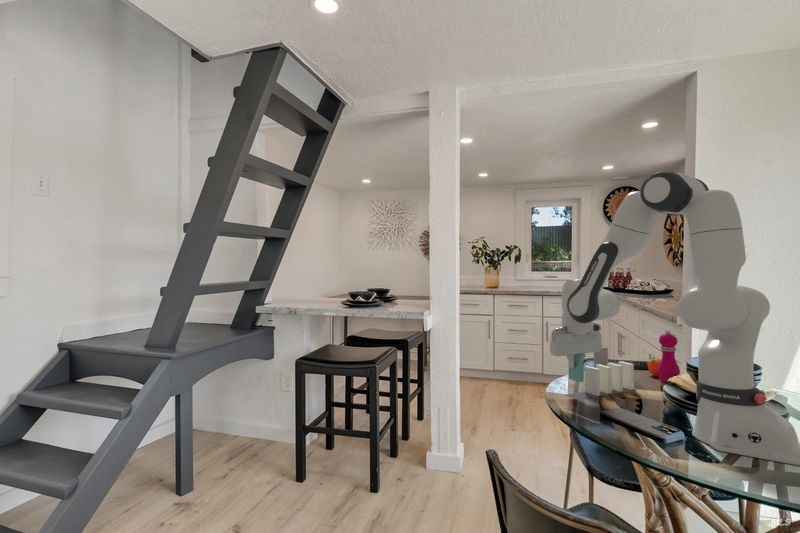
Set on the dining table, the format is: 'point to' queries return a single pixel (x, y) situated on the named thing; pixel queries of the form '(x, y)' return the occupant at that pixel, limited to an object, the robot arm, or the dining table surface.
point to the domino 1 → (577, 369)
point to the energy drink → (601, 357)
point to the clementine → (654, 366)
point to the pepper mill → (668, 357)
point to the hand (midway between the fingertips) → (576, 366)
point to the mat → (587, 395)
